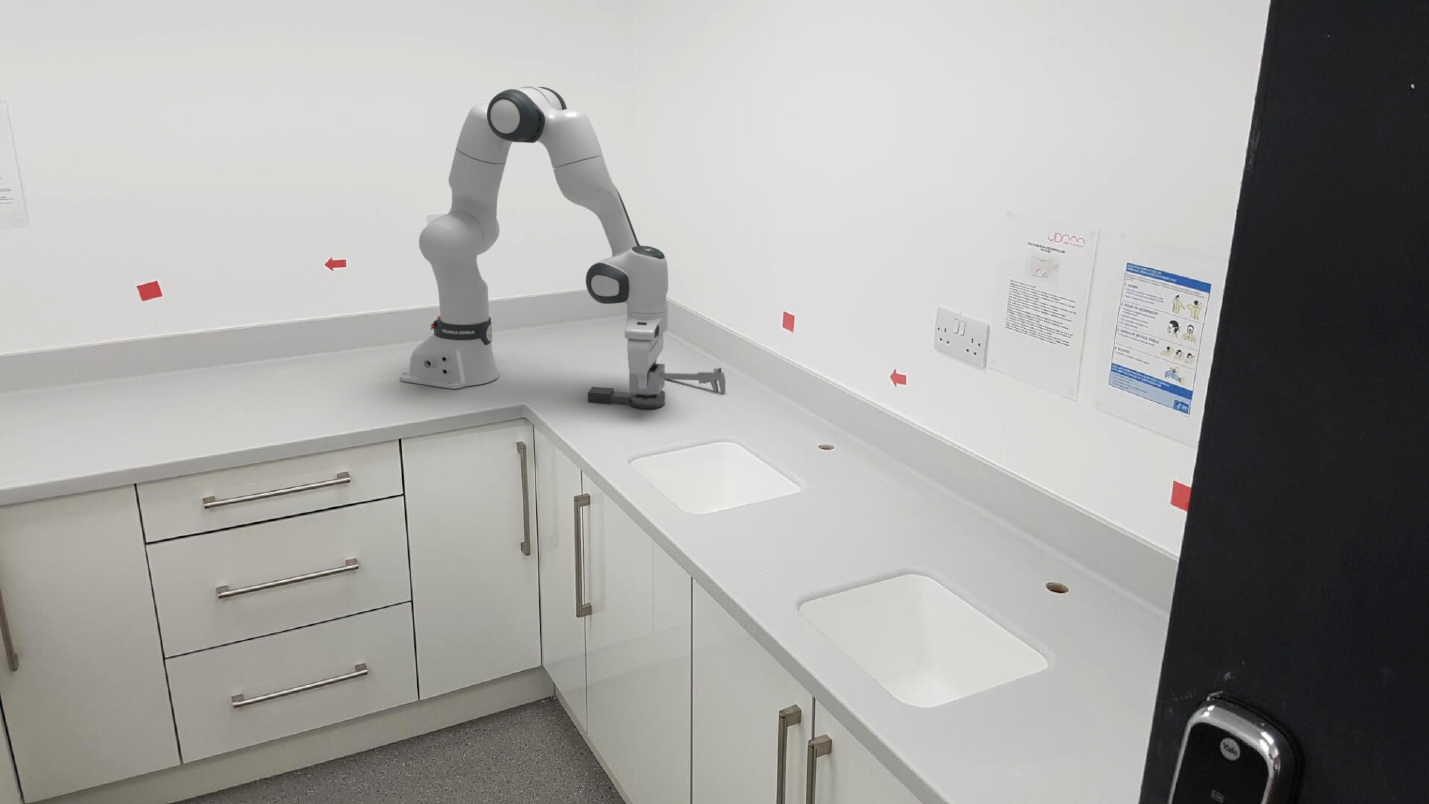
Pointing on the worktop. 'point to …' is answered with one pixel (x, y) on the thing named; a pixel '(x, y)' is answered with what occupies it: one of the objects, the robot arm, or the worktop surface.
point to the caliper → (702, 378)
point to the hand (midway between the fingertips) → (646, 382)
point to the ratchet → (626, 398)
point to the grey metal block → (649, 380)
